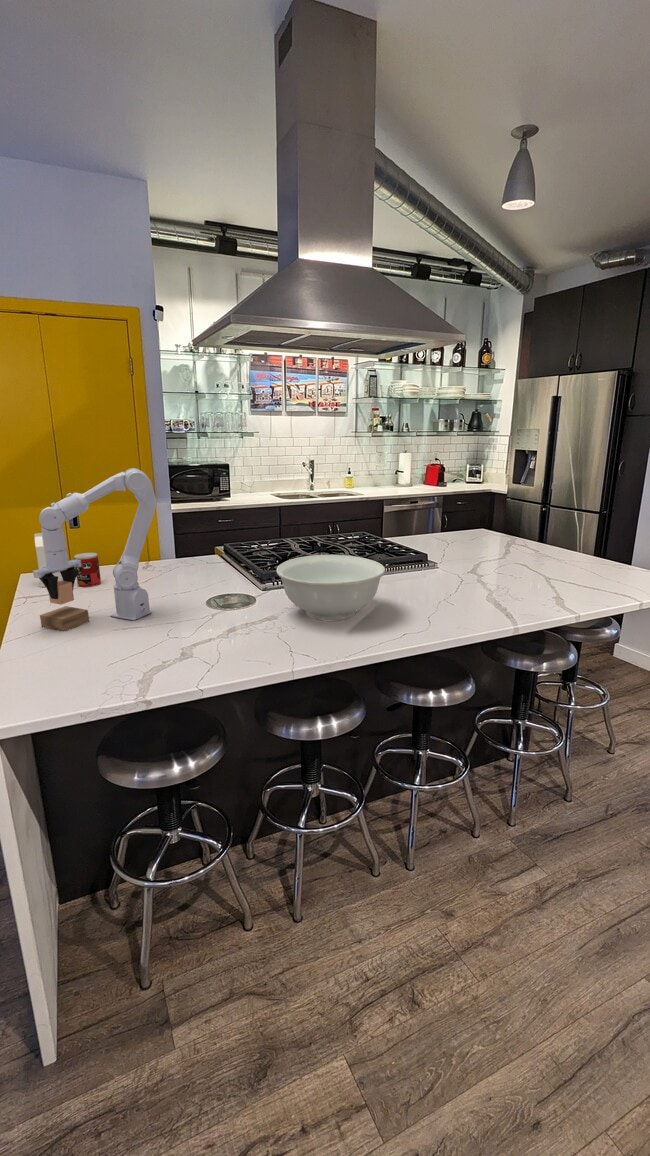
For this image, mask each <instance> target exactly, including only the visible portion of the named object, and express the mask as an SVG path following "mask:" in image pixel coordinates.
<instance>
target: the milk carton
mask: <svg viewBox="0 0 650 1156" xmlns="http://www.w3.org/2000/svg"><path fill="white" fill-rule="evenodd" d="M42 534H43V533H42V532H39V533H34V534H33V536H34V546H35V552H36V560H37V565H38V566H37V567H38V569H40V568H42V567H44V566H46V559H45V552H44V546H43V539H42ZM53 575H54V576H58V581H61V580H62V581H63V578H62V576H61V573H60V572H57V573H53ZM40 586H41V588H46V587H45V585H44V584H43V582H42V581H41V580H40Z"/></svg>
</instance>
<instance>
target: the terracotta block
mask: <svg viewBox="0 0 650 1156" xmlns="http://www.w3.org/2000/svg"><path fill="white" fill-rule="evenodd" d="M57 590H58V599H51V597H50V594H49V593H48V596H49V602H50V603H51V604H56V605H59V606H61V605H64V604H67V603H70V602H72V601H75V597H74V588H72V582H68V581H62V580H61V581H58V582H57Z"/></svg>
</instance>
